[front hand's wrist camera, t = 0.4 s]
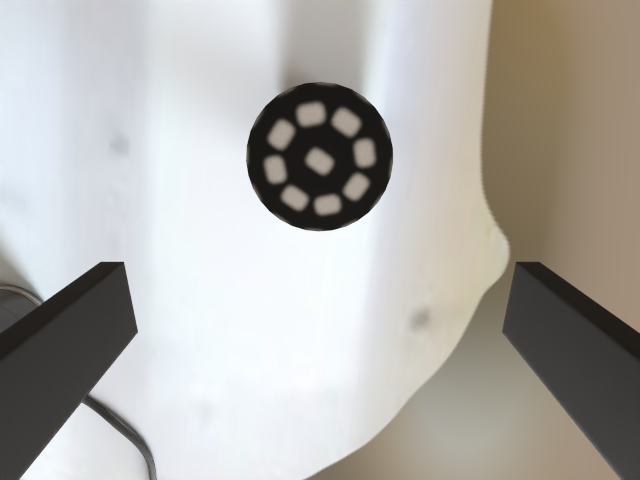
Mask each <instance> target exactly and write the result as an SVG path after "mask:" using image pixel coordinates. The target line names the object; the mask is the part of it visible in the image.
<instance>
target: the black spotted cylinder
mask: <svg viewBox="0 0 640 480" xmlns="http://www.w3.org/2000/svg"><path fill="white" fill-rule="evenodd" d="M246 162H247V168H248V175H249V178H250V181H251V184H252V186H253V189H254V191H255V192H256V194H257V196H258V197H259V199H260V201H261V202H262V203H263V204H264V205H265V207H266V208H267V209H268V210H269V211H270V212H271V213H272V214H274V215H275V216H276V217H278V218H279V219H280V220H282V221H284V222H286V223H288V224H290V225H292V226H294V227H298V228H301V229H304V230H312V231H328V230H335V229H338V228H342V227H345V226H348V225H350V224H352V223H354V222H356V221H358V220H359V219H360V218H362V217H363V216H364V215H366V214H367V213H368V212H369V211H370V210H371V209H372V208H373V207H374V206H375V205H376V204H377V203H378V201H379V200H380V198H381V196H382V195H383V193H384V192H385V190H386V187H387V185H388V182H389V179H390V176H391V171H392V165H393V147H392V143H391V138H390V133H389V131H388V129H387V127H386V124H385V122H384V120H383V118H382V117H381V115H380V114H379V113H378V111H377V110H376V108H375V107H374V106H373V105H372V104H371V103H370V102H369V101H367V100H366V99H365V98H364V97H363V96H361V95H360V94H358V93H356V92H355V91H353V90H351V89H349V88H346V87H343V86H341V85H338V84H332V83H324V82H316V83H305V84H302V85H299V86H296V87H293V88H290V89H288V90H286V91H285V92H283V93H281V94H279V95H278V96H276V97H275V98H274V99H273V100H272V101H271V102H270V103H269V104H267V105H266V106H265V108H264V109H263V110H262V112H261V113H260V114H259V116H258V117H257V119H256V121H255V123H254V125H253V127H252V129H251V132H250V136H249V140H248V144H247V157H246Z"/></svg>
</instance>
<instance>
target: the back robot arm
mask: <svg viewBox="0 0 640 480" xmlns="http://www.w3.org/2000/svg"><path fill="white" fill-rule="evenodd" d="M41 304H42V301H41V300H39V299H38V298H37V297H36V296H35V295H33V294H32V293H30V292H28V291H26V290H24V289H21V288H18V287H15V286H8V285H1V286H0V333H2V332H3V331H4V330H6V329H7V328H9V327H10V326H11V325H13V324H14V323H16V322H17V321H18V320H20V319H21V318H23V317H24V316H25V315H27V314H28V313H30V312H31V311H32V310H34V309H35V308H37V307H38V306H39V305H41ZM82 403H84V404H85V405H87V406H89V407H90V408H91V409H93V410H94V411H96V412H97V413H98V414H99V415H100V416H102V417H103V418H104V419H105V420H106V421H107V422H109V423H110V424H111V425H112V426H113V427H114V428H115V429H117V430H118V431H119V432H120V433H121V434H123V435H124V436H125V437H126V438H128V439H129V440H130V441H131V442H132V443H133V444H134V445H135V446H136V447H137V448H138V449H139V450H140V452H141V453H142V454H143V456H144V458H145V460H146V462H147V464H148V468H149V474H150V480H157V479H156V470H155V464H154V461H153V458H152V456H151V454H150V452H149V451H148V449H147V448H146V446H145V445H144V444H143V442H142V441H141V440H140V439H139V438H138V437H137V436H136V435H134V434H133V433H132V432H131V431H130V430H129V429H127V428H126V427H125V426H124V425H123V424H121V423H120V422H119V421H118V420H117V419H116V418H115V417H113V416H112V415H111V414H110V413H109V412H108V411H106V410H105V409H104V408H103V407H102V406H100V405H99V404H98V403H96V402H95V401H93V400H92V399H90V398H89V397H87V396H86V397H85V398H84V400H83V401H82Z"/></svg>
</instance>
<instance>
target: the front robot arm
mask: <svg viewBox="0 0 640 480" xmlns="http://www.w3.org/2000/svg"><path fill="white" fill-rule="evenodd" d="M137 333H138V330H137V325H136V320H135V315H134V310H133V305H132V300H131V295H130V290H129V285H128V280H127V275H126V270H125V265H124V262H100V263H99V264H97V265H96V266H94V267H93V268H92V269H90V270H89V271H87V272H86V273H85V274H83V275H82V276H80V277H79V278H77V279H76V280H75V281H73V282H72V283H70V284H69V285H68V286H66V287H65V288H63V289H62V290H61V291H59V292H58V293H56V294H55V295H54V296H52V297H51V298H49V299H48V300H47V301H45V302H44V303H42V304H41V305H39V306H38V307H37V308H35V309H34V310H32V311H31V312H30V313H28V314H27V315H25V316H24V317H23V318H21V319H20V320H18V321H17V322H16V323H14V324H13V325H11V326H10V327H9V328H7V329H6V330H4V331H3V332H2V333H0V480H19V479H20V478H21V477H22V475H23V474H24V473H25V472H26V470H27V469H28V468H29V467H30V465H31V464H32V463H33V462H34V460H35V459H36V458H37V457H38V456H39V454H40V453H41V452H42V451H43V449H44V448H45V447H46V446H47V444H48V443H49V442H50V441H51V439H52V438H53V437H54V436H55V434H56V433H57V432H58V431H59V429H60V428H61V427H62V426H63V424H64V423H65V422H66V421H67V420H68V418H69V417H70V416H71V415H72V413H73V412H74V411H75V410H76V408H77V407H78V406H79V405H80V403H81V402H82V401H83V400H84V398H85V397H86V396H87V395H88V393H89V392H90V391H91V390H92V388H93V387H94V386H95V385H96V384H97V382H98V381H99V380H100V379H101V377H102V376H103V375H104V374H105V372H106V371H107V370H108V369H109V367H110V366H111V365H112V364H113V362H114V361H115V360H116V359H117V357H118V356H119V355H120V354H121V352H122V351H123V350H124V349H125V348H126V346H127V345H128V344H129V343H130V341H131V340H132V339H133V338H134V336H135V335H136V334H137ZM502 333H503V334H504V335H505V336H506V338H507V339H508V340H509V341H510V343H511V344H512V345H513V346H514V348H515V349H516V350H517V351H518V352H519V354H520V355H521V356H522V357H523V359H524V360H525V361H526V362H527V364H528V365H529V366H530V367H531V369H532V370H533V371H534V372H535V374H536V375H537V376H538V377H539V378H540V380H541V381H542V382H543V383H544V385H545V386H546V387H547V388H548V390H549V391H550V392H551V393H552V395H553V396H554V397H555V398H556V400H557V401H558V402H559V403H560V405H561V406H562V407H563V408H564V409H565V411H566V412H567V413H568V415H569V416H570V417H571V418H572V419H573V421H574V422H575V423H576V424H577V426H578V427H579V428H580V429H581V431H582V432H583V433H584V434H585V436H586V437H587V438H588V439H589V441H590V442H591V443H592V444H593V446H594V447H595V448H596V449H597V451H598V452H599V453H600V454H601V456H602V457H603V458H604V459H605V460H606V462H607V463H608V464H609V465H610V467H611V468H612V469H613V470H614V472H615V473H616V474H617V475H618V477H619V478H620V479H621V480H640V333H638V332H637V331H636V330H634V329H633V328H631V327H630V326H629V325H627V324H626V323H624V322H623V321H622V320H620V319H619V318H617V317H616V316H615V315H613V314H612V313H610V312H609V311H608V310H606V309H605V308H603V307H602V306H601V305H599V304H598V303H596V302H595V301H593V300H592V299H591V298H589V297H588V296H586V295H585V294H584V293H582V292H581V291H579V290H578V289H577V288H575V287H574V286H572V285H571V284H570V283H568V282H567V281H565V280H564V279H563V278H561V277H560V276H558V275H557V274H555V273H554V272H553V271H551V270H550V269H548V268H547V267H546V266H544V265H543V264H541V263H540V262H516V265H515V271H514V276H513V280H512V285H511V290H510V295H509V300H508V305H507V310H506V315H505V320H504V325H503V330H502Z"/></svg>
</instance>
